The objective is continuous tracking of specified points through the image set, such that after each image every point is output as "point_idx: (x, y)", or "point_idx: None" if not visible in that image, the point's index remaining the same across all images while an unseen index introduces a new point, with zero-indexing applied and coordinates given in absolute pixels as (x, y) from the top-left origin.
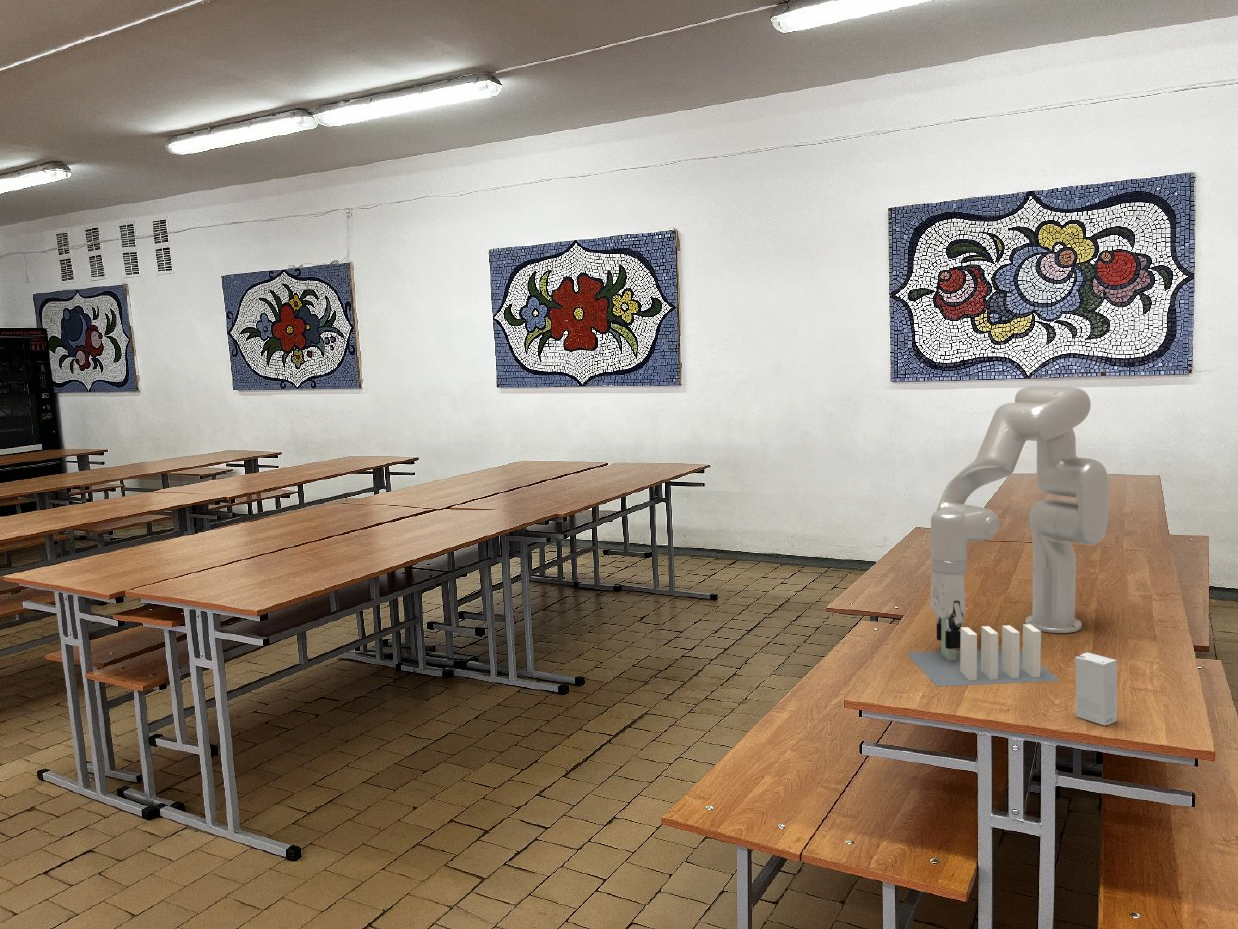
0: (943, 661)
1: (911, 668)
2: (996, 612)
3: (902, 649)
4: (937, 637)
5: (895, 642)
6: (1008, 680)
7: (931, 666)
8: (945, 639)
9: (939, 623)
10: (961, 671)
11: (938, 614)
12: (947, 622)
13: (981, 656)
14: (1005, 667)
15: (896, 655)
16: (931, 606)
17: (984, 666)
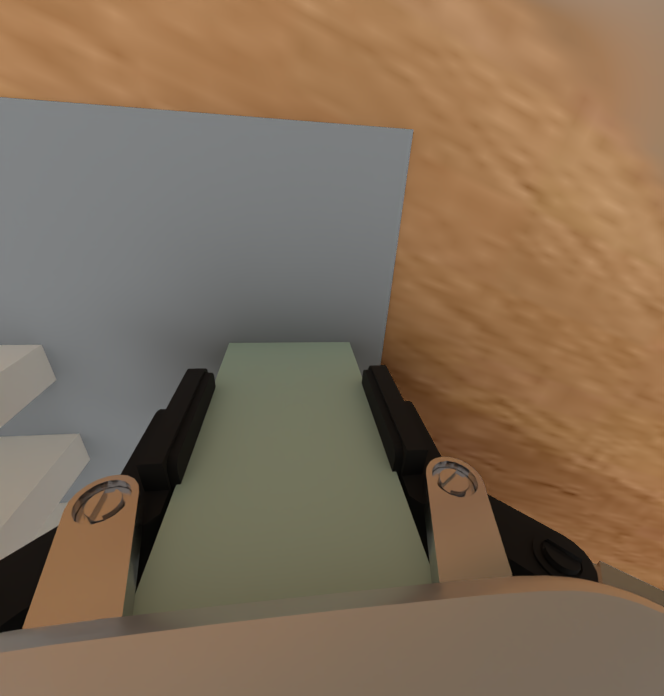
0: (218, 313)
1: (111, 44)
2: (643, 578)
3: (501, 150)
4: (374, 374)
5: (628, 156)
6: None
7: (119, 209)
8: (186, 404)
9: (410, 467)
10: (16, 349)
11: (116, 666)
12: (70, 592)
13: (17, 500)
14: (49, 526)
15: (411, 43)
16: (606, 664)
17: (2, 466)
